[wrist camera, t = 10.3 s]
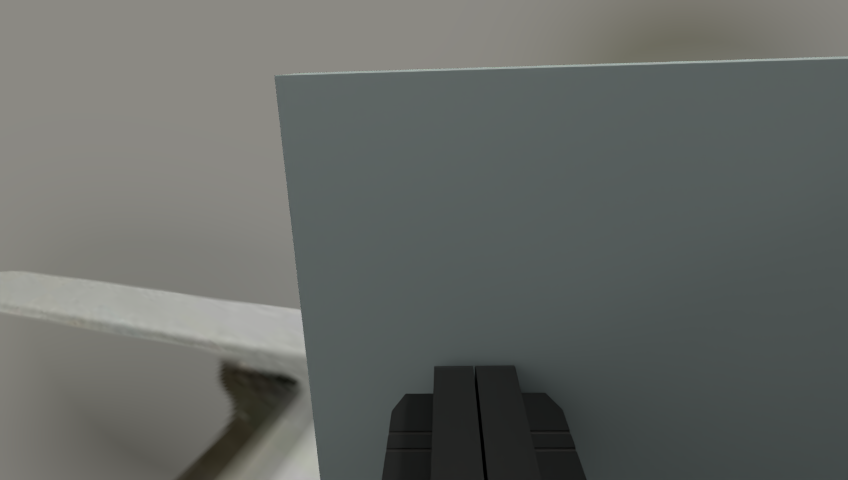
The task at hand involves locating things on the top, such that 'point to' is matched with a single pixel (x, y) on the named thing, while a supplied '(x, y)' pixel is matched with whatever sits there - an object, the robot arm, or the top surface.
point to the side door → (582, 255)
